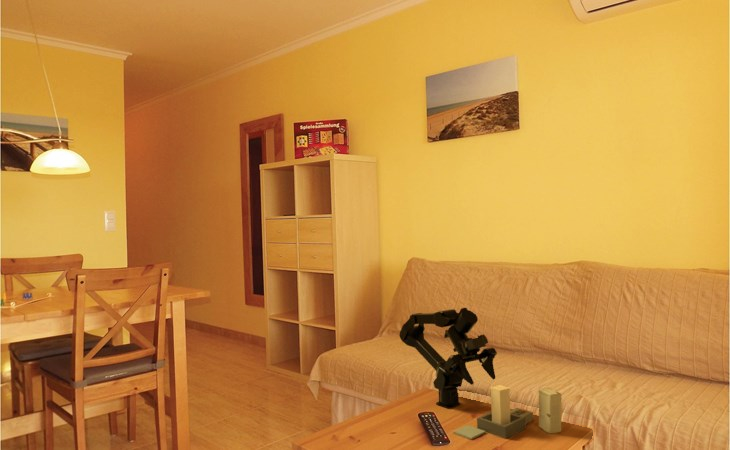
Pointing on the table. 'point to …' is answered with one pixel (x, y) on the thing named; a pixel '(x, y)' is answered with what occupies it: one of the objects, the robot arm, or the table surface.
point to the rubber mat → (469, 432)
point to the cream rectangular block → (500, 404)
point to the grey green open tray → (516, 424)
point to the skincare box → (550, 410)
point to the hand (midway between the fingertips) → (483, 381)
